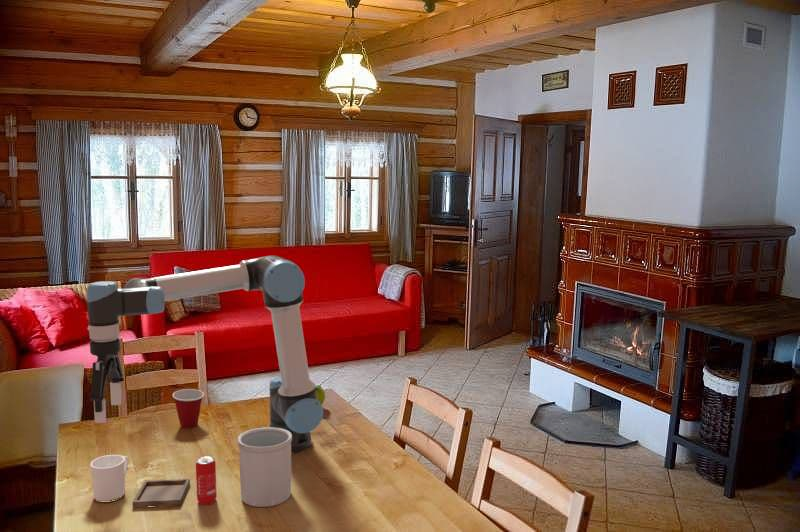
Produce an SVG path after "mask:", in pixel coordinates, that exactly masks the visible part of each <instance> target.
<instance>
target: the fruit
mask: <svg viewBox="0 0 800 532" xmlns="http://www.w3.org/2000/svg"><path fill="white" fill-rule="evenodd" d="M316 392H317V399H318V401H319V402H320V404H321V406H322V405H323V404H324V402H325V400H326V393H325V392H326V391H324V389H323V387H322V385H316Z"/></svg>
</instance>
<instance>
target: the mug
mask: <svg viewBox="0 0 800 532" xmlns="http://www.w3.org/2000/svg"><path fill="white" fill-rule="evenodd" d="M129 459H130V458H129V457H128V456H127V455H120V454H107V455H102V456H98V457H97V458H95V459H93V460H91V462H90V472H91V479H92V489H93V499H94V498H95V499H94V501H95V500H97V501H112V500H116V499H118V498H120V497H121V496H123V495H124V494H125V495H126V480H125V479H126V475H127V471H128V467H129V466H128V465H129V464H130V463H129V462H130V461H129ZM125 495H124V496H125ZM124 496H123V497H124ZM97 501H96V502H97Z"/></svg>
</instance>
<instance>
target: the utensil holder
mask: <svg viewBox="0 0 800 532" xmlns="http://www.w3.org/2000/svg"><path fill="white" fill-rule="evenodd" d="M291 441H292V434H291V433H290V432H289V431H287V430H285V429H281V428H273V427H269V426H268V427H267V426H266V427H257V428H252V429H248V430H246V431H244V432H242V433H241V434H240V435H238V437H237V445H238V457H239V458H238V459H239V480H240V481H239V482H240V497H241V500H242V502H243V503H244V504H246V505H247V506H251V507H255V508H256V507H257V508H268V507H273V506H277V505H280V504H283V503H285V502H286V501H287V500H288V499H289V498H290V496H291V489H292V486H291V483H292V453H291Z"/></svg>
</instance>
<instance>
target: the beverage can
mask: <svg viewBox="0 0 800 532" xmlns="http://www.w3.org/2000/svg"><path fill="white" fill-rule="evenodd" d="M216 468H217V467H216V461H215V457H212V456H202V457H199V458H198V459H197V460H196V463H195V478H196V479H195V480H196V498H197V502H198V503H199V504H200V505H201V506H207V505H212V504H213V503H215V502H216V499H217V497H218V496H217V470H216Z"/></svg>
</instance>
